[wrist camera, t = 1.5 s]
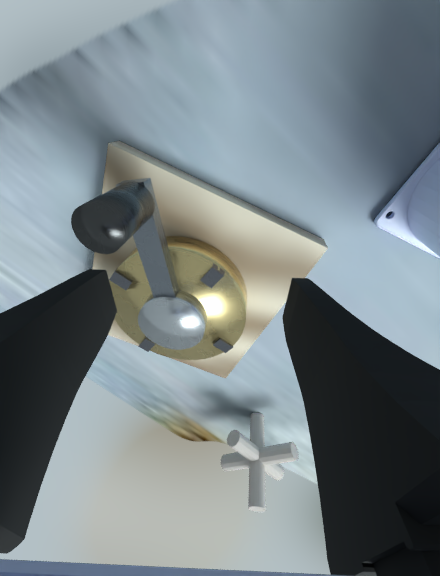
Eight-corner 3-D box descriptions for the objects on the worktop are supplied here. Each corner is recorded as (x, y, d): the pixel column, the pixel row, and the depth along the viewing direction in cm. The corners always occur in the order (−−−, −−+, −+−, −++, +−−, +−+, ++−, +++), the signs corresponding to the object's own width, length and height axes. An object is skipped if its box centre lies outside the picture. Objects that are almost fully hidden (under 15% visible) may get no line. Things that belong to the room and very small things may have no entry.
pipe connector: (307, 425, 34) (323, 522, 26) (247, 438, 39) (244, 524, 31) (269, 387, 30) (273, 487, 22) (207, 406, 35) (191, 496, 27)
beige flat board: (119, 140, 17) (106, 143, 15) (323, 239, 19) (328, 249, 17) (93, 316, 27) (84, 327, 26) (226, 367, 29) (225, 379, 28)
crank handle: (250, 340, 24) (247, 418, 18) (143, 339, 26) (107, 409, 20) (237, 159, 15) (224, 191, 9) (75, 177, 17) (-28, 214, 11)
